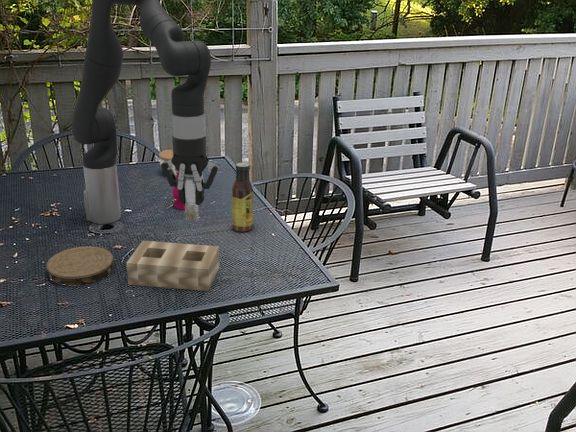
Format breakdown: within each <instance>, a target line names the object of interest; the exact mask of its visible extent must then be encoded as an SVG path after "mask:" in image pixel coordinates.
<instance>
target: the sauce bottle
mask: <svg viewBox="0 0 576 432" xmlns="http://www.w3.org/2000/svg"><path fill="white" fill-rule="evenodd" d="M250 169H251V165H250V163H248V162H237V163H235V172H236V176H235V181H234V182H233V183H232V188H231V193H232V194H231V225H232V226H231V227H232V229H233V230H234V231H236V232H242V233H244V232H248V231H251V230H252V228H253V224H254V189H253V185H252V182H251V179H250Z"/></svg>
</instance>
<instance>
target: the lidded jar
mask: <svg viewBox="0 0 576 432" xmlns="http://www.w3.org/2000/svg"><path fill="white" fill-rule="evenodd" d="M172 157H173V148H172V149H165V150H162V151H160V152H159V153H158V158H159V164H160V165H159V166H161V164H162V163H163V162H164V161H165V160H167V161H169V160H171V159H172ZM172 170H173V172H174V174H175V176H176V178H177V173H176V171H175V166H174V165H173V168H172Z"/></svg>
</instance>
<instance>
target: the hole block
mask: <svg viewBox="0 0 576 432" xmlns="http://www.w3.org/2000/svg"><path fill="white" fill-rule="evenodd" d="M219 268H220V246H218V245H208V244H207V245H206V244H205V245H204V244H191V243H179V242H177V243H176V242H168V241H167V242H164V241H154V240H153V241H152V240H142V241H141V242H140V243H139V245H138V247H137V248H136V249H135V250H134V252H133V253H132V254H131V256H130V258H128V260H127V261H126V274H127V281H128V282H127V284H128V285H130V286H131V285H132V286H141V287H154V288H166V289H177V290H179V289H180V290H188V291H189V290H190V291H191V290H192V291H205V292H210V290H211V287H212V285H213V283H214V280H215V278H216V276H217V273H218V271H219Z"/></svg>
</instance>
